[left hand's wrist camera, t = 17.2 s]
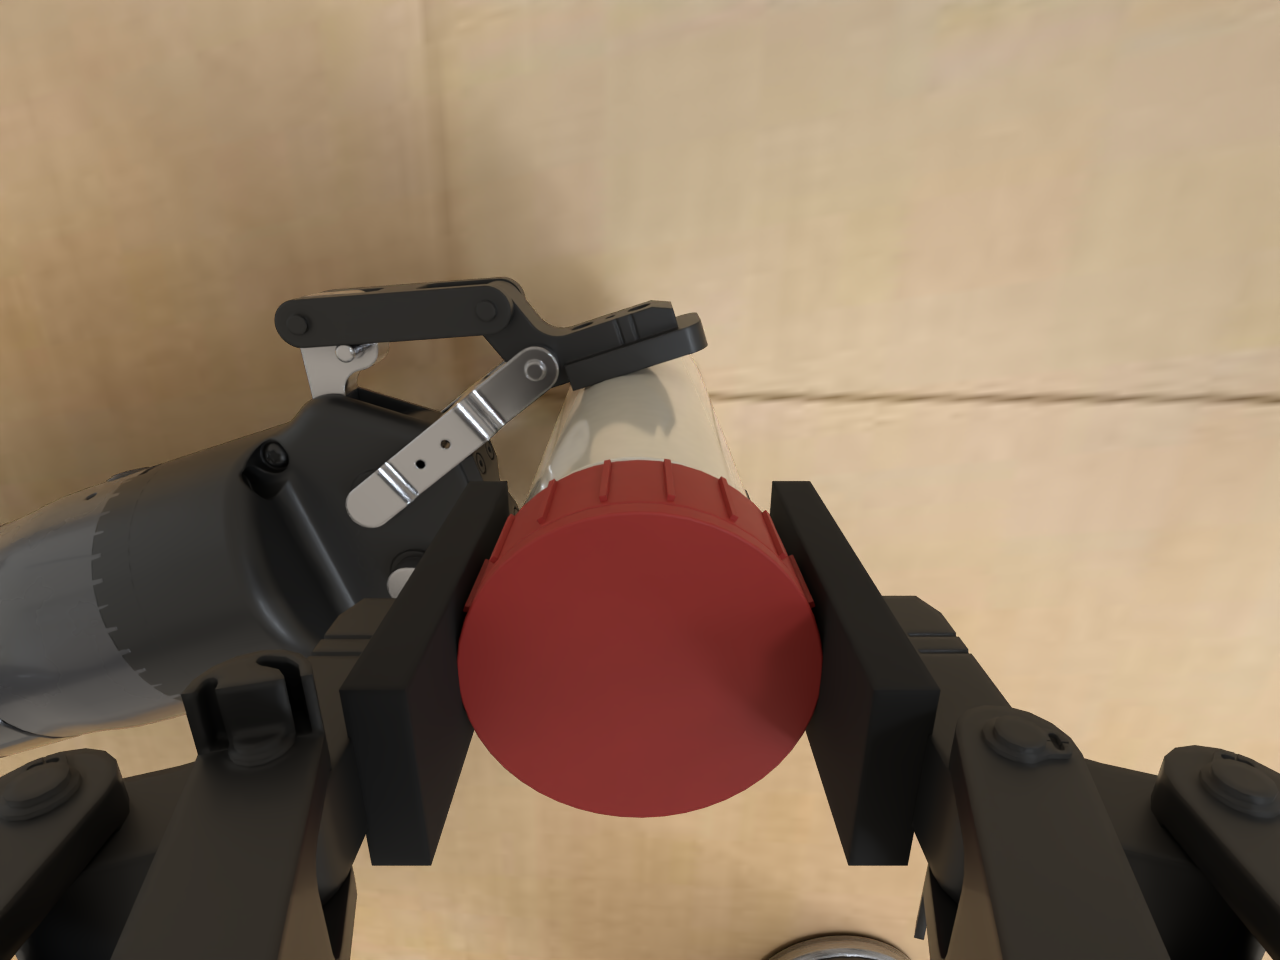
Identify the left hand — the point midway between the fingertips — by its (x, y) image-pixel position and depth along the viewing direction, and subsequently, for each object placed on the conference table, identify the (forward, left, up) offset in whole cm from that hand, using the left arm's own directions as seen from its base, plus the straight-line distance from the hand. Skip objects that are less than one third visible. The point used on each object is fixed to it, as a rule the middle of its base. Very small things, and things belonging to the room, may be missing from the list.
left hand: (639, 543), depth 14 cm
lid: (0, 0, +4) cm, 4 cm away
